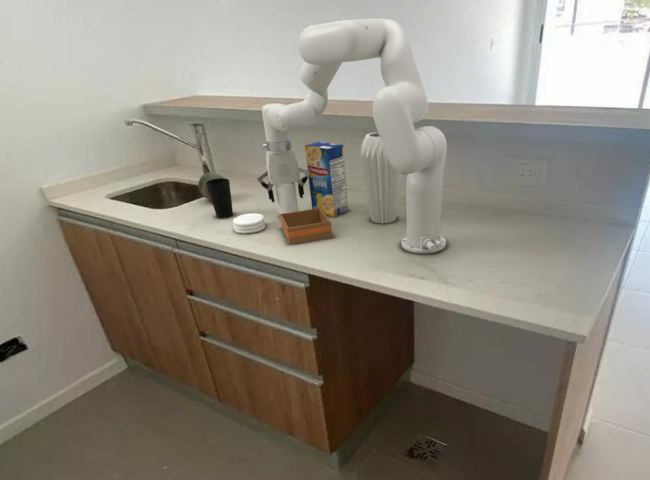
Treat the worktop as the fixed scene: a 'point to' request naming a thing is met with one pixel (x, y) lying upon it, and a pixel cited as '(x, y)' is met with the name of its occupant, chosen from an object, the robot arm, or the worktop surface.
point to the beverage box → (327, 177)
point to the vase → (379, 180)
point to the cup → (220, 197)
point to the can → (287, 197)
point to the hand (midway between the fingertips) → (287, 199)
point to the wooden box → (305, 226)
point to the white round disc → (249, 223)
